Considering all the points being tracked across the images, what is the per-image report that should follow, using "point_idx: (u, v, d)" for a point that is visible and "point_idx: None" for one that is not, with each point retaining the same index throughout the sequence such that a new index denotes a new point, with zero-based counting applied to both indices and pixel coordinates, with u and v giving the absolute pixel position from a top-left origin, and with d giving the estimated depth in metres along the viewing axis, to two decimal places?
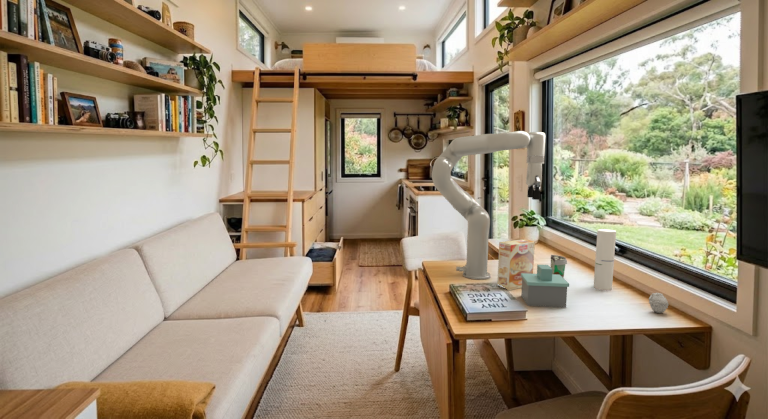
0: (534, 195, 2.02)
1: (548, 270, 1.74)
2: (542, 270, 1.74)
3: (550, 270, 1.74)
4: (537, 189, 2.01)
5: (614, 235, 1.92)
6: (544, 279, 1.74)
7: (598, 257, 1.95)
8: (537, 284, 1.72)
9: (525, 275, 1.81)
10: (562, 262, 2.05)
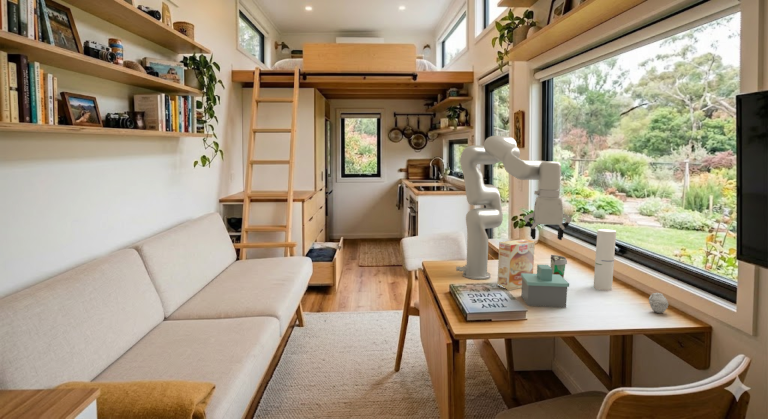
0: (562, 235, 1.74)
1: (548, 270, 1.74)
2: (542, 270, 1.74)
3: (550, 270, 1.74)
4: None
5: (614, 235, 1.92)
6: (544, 279, 1.74)
7: (598, 257, 1.95)
8: (537, 284, 1.72)
9: (525, 275, 1.81)
10: (562, 262, 2.05)
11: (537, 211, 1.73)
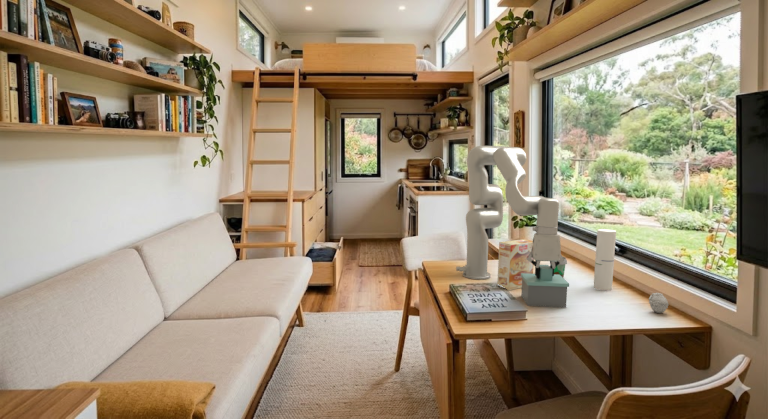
0: (552, 273, 1.76)
1: (548, 270, 1.74)
2: (542, 270, 1.74)
3: (550, 270, 1.74)
4: None
5: (614, 235, 1.92)
6: (544, 279, 1.74)
7: (598, 257, 1.95)
8: (537, 284, 1.72)
9: (525, 275, 1.81)
10: (562, 262, 2.05)
11: (535, 248, 1.74)
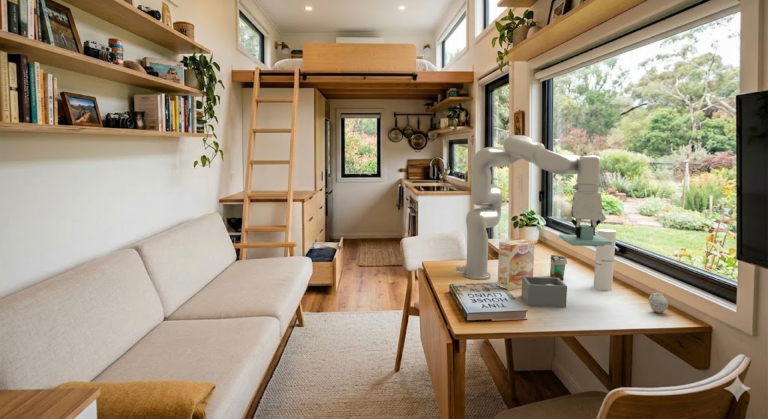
0: None
1: (589, 228, 1.70)
2: (583, 228, 1.71)
3: (591, 228, 1.70)
4: None
5: (614, 235, 1.92)
6: (585, 238, 1.71)
7: (598, 257, 1.95)
8: (578, 242, 1.68)
9: (564, 235, 1.78)
10: (562, 262, 2.05)
11: (576, 206, 1.71)
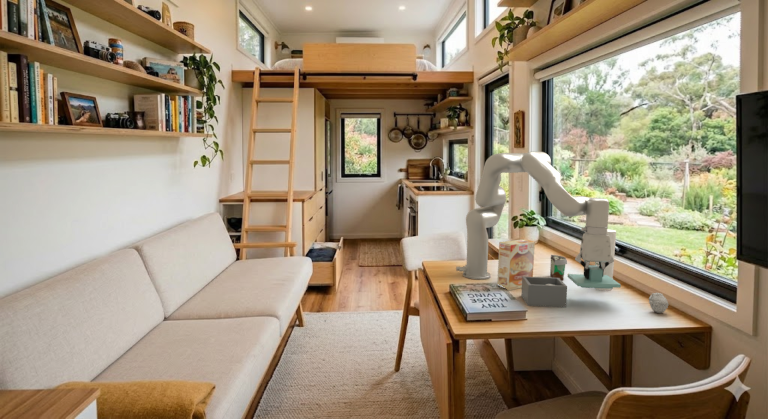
0: None
1: (598, 271, 1.72)
2: (592, 271, 1.72)
3: (600, 271, 1.72)
4: None
5: (614, 235, 1.92)
6: (594, 280, 1.72)
7: None
8: (588, 285, 1.70)
9: (573, 276, 1.80)
10: (562, 262, 2.05)
11: (585, 248, 1.72)
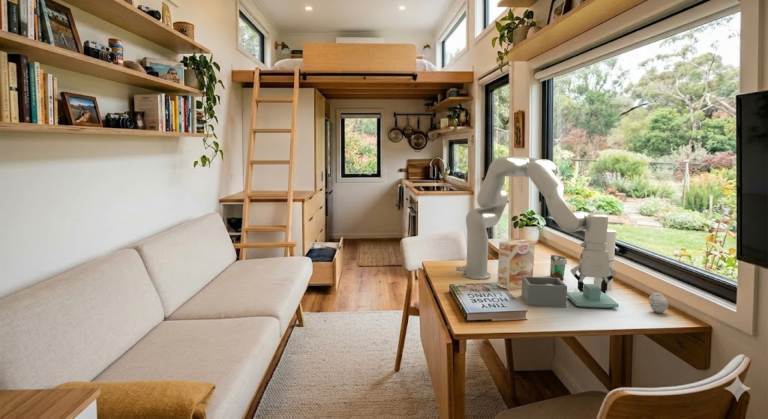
0: (606, 288, 1.75)
1: (596, 290, 1.73)
2: (590, 290, 1.73)
3: (598, 290, 1.73)
4: None
5: (614, 235, 1.92)
6: (592, 299, 1.73)
7: None
8: (586, 304, 1.71)
9: (571, 294, 1.81)
10: (562, 262, 2.05)
11: (584, 264, 1.73)
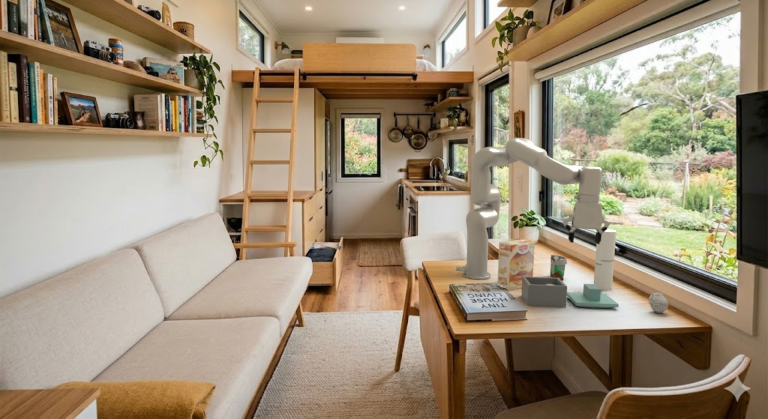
0: (600, 239, 1.78)
1: (596, 290, 1.73)
2: (590, 290, 1.73)
3: (598, 290, 1.73)
4: None
5: (614, 235, 1.92)
6: (592, 299, 1.73)
7: (598, 257, 1.95)
8: (586, 304, 1.71)
9: (571, 294, 1.81)
10: (562, 262, 2.05)
11: (576, 215, 1.76)
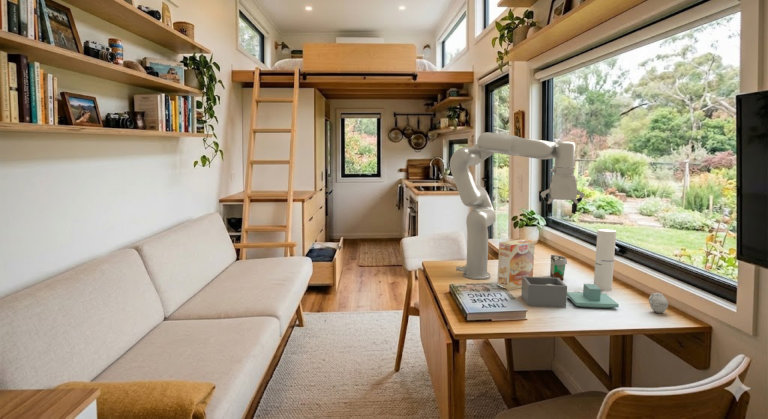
0: (576, 209, 1.90)
1: (596, 290, 1.73)
2: (590, 290, 1.73)
3: (598, 290, 1.73)
4: None
5: (614, 235, 1.92)
6: (592, 299, 1.73)
7: (598, 257, 1.95)
8: (586, 304, 1.71)
9: (571, 294, 1.81)
10: (562, 262, 2.05)
11: (553, 187, 1.88)
